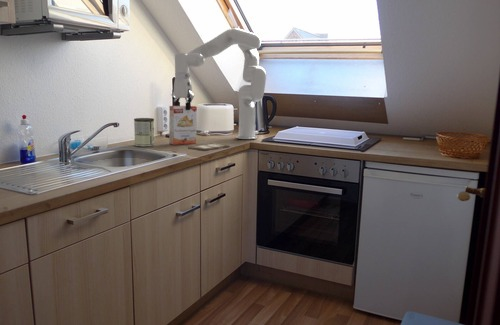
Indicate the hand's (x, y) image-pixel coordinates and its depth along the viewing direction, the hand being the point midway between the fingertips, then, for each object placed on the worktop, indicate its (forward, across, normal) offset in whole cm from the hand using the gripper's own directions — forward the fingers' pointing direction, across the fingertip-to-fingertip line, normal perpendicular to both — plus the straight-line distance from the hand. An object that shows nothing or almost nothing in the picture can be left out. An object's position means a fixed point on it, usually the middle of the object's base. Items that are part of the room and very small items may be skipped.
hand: (182, 109), depth 244 cm
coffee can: (+19, +10, +19) cm, 28 cm away
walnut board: (+19, -20, +1) cm, 27 cm away
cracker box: (+19, 0, 0) cm, 19 cm away
